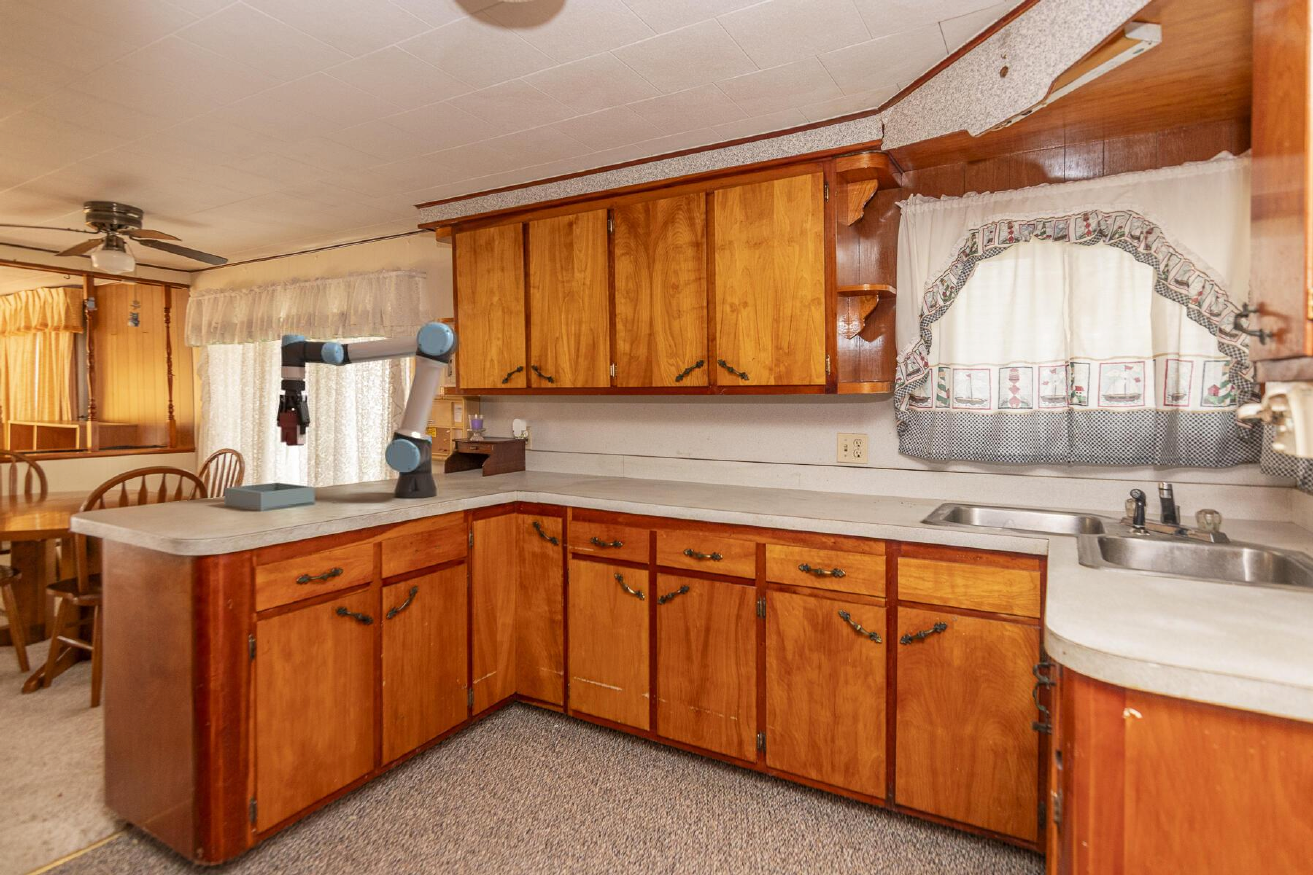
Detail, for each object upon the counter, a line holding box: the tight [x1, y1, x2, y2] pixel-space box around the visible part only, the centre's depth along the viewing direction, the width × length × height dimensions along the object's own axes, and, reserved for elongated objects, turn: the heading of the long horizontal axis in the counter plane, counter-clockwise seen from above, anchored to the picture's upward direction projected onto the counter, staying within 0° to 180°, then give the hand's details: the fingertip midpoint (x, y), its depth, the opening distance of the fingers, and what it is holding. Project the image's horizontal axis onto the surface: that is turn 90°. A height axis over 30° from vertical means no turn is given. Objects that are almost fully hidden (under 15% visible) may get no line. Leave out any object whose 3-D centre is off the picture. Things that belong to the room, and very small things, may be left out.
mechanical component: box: [276, 409, 310, 447], centre depth 239 cm, size 12×10×10 cm
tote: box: [224, 482, 315, 512], centre depth 232 cm, size 22×18×6 cm
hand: (293, 443), depth 239 cm, fingers closed on mechanical component, 10 cm apart
